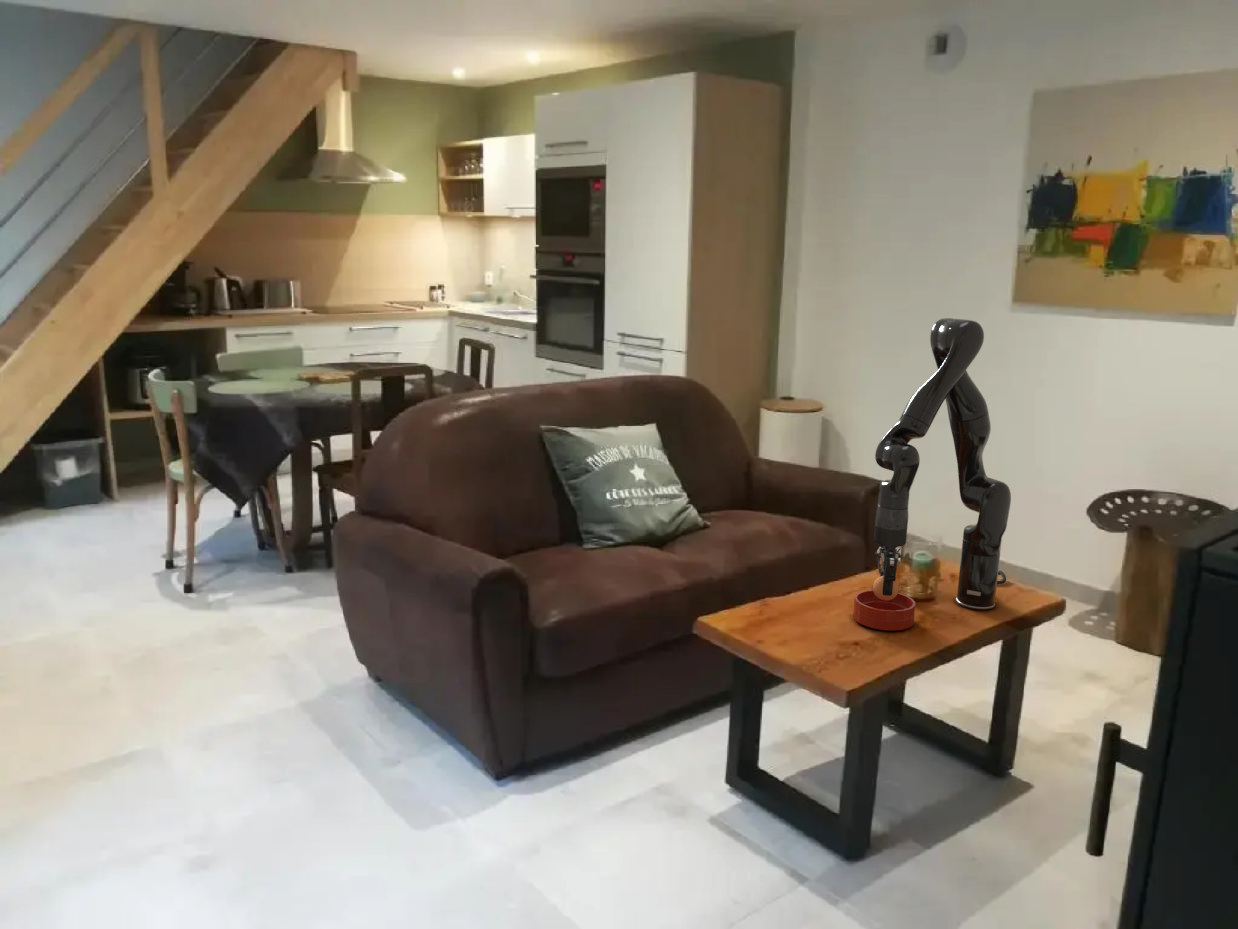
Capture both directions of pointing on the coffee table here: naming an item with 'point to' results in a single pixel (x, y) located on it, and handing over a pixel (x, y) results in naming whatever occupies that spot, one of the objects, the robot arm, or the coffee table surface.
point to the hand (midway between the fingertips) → (885, 590)
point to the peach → (879, 588)
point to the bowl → (884, 611)
